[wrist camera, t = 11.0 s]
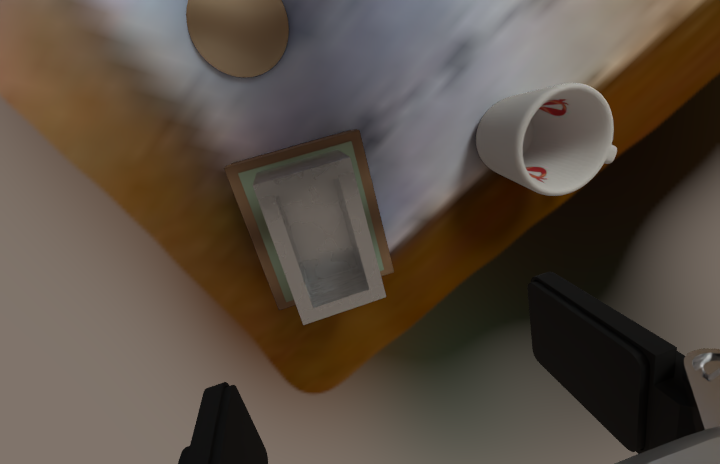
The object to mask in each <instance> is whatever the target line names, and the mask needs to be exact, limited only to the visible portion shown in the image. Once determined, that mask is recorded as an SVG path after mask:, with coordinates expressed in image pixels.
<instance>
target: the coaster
mask: <svg viewBox="0 0 720 464" xmlns="http://www.w3.org/2000/svg"><path fill="white" fill-rule="evenodd" d="M186 17H187V26H188V30H189V33H190V37H191V39H192V41H193V43H194V45H195V47H196V48H197V50H198V51H199V53H200V54H201V55H202V57H203V58H204V59H205V60H206V61H207V62H208V63H210V64H211V65H212V66H213V67H215V68H216V69H218V70H219V71H221V72H223V73H226V74H228V75H231V76H235V77H243V78H246V77H255V76H258V75H261V74H263V73H265V72H267V71H269V70H270V69H272V68H273V67H274V66H275V65H276V64H277V63H278V61H279V60H280V59H281V57H282V55H283V54H284V51H285V49H286V45H287V42H288V34H289V26H288V18H287V14H286V11H285V8H284V5H283V3H282V1H281V0H188V4H187V12H186Z"/></svg>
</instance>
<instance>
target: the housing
mask: <svg viewBox="0 0 720 464" xmlns="http://www.w3.org/2000/svg"><path fill="white" fill-rule="evenodd" d="M253 188H254V191H255V194H256V196H257V199H258V202H259V205H260V207H261V210H262V213H263V216H264V218H265V221H266V224H267V227H268V229H269V232H270V235H271V238H272V240H273V243H274V246H275V249H276V251H277V254H278V257H279V260H280V262H281V265H282V268H283V271H284V273H285V276H286V279H287V282H288V284H289V287H290V290H291V293H292V295H293V298H294V301H295V304H296V306H297V309H298V312H299V315H300V317H301V320H302V323H303V325H305V324H308V323H311V322H314V321H317V320H320V319H323V318H326V317H329V316H332V315H335V314H338V313H341V312H344V311H347V310H350V309H352V308H355V307H358V306H361V305H364V304H367V303H370V302H373V301H376V300H379V299H382V298H385V297H386V294H385V290H384V286H383V282H382V278H381V274H380V271H379V267H378V263H377V259H376V255H375V251H374V247H373V243H372V240H371V236H370V232H369V228H368V224H367V220H366V216H365V213H364V209H363V205H362V201H361V197H360V193H359V189H358V186H357V182H356V178H355V174H354V170H353V166H352V162H351V159H350V157H349V156H347V155H346V154H344V153H343V152H341V151H340V150H338V149H336V150H333V151H329V152H326V153H323V154H319V155H316V156H312V157H309V158H305V159H302V160H298V161H295V162H291V163H288V164H284V165H281V166H277V167H274V168H270V169H267V170H263V171H260V172H257V173H256V177H255V180H254V183H253Z"/></svg>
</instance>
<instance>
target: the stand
mask: <svg viewBox="0 0 720 464" xmlns="http://www.w3.org/2000/svg"><path fill="white" fill-rule="evenodd" d="M336 149H338V150H340V151H341V152H343V153H344V154H346V155H347V156H349V157H350V159H351V162H352V166H353V170H354V174H355V178H356V182H357V186H358V189H359V193H360V197H361V201H362V205H363V209H364V213H365V216H366V220H367V224H368V228H369V232H370V236H371V240H372V243H373V247H374V251H375V255H376V259H377V263H378V267H379V271H380V274H381V276H384V275H387V274H390V273H393V272H394V270H393V266H392V262H391V258H390V254H389V249H388V245H387V241H386V237H385V233H384V229H383V225H382V221H381V217H380V213H379V209H378V204H377V200H376V196H375V192H374V188H373V184H372V180H371V176H370V172H369V168H368V164H367V159H366V155H365V151H364V147H363V143H362V139H361V135H360V131H359V130H357V129H355V130H348V131H345V132H341V133H338V134H334V135H331V136H327V137H324V138H320V139H317V140H313V141H309V142H306V143H302V144H299V145H295V146H292V147H288V148H285V149H281V150H278V151H274V152H270V153H267V154H263V155H260V156H256V157H253V158H249V159H246V160H242V161H239V162H235V163H232V164H231V165H228V166H226V167H225V168H224V169H225V172H226V175H227V177H228V180H229V182H230V185H231V188H232V190H233V193H234V195H235V198H236V201H237V203H238V206H239V208H240V211H241V213H242V216H243V219H244V221H245V224H246V226H247V229H248V232H249V234H250V237H251V239H252V242H253V244H254V247H255V250H256V252H257V255H258V257H259V260H260V263H261V265H262V268H263V270H264V273H265V276H266V278H267V281H268V283H269V286H270V288H271V291H272V294H273V296H274V299H275V301H276V304H277V307H278V309H279V310H282V309H285V308H288V307H291V306H294V305H296V304H295V301H294V298H293V295H292V293H291V290H290V287H289V284H288V282H287V279H286V276H285V273H284V271H283V268H282V265H281V262H280V260H279V257H278V254H277V251H276V249H275V246H274V243H273V240H272V238H271V235H270V232H269V229H268V227H267V224H266V221H265V218H264V216H263V213H262V210H261V207H260V205H259V202H258V199H257V196H256V194H255V191H254V188H253V183H254V180H255V177H256V173H257V172H260V171H263V170H267V169H270V168H274V167H277V166H281V165H284V164H288V163H291V162H295V161H298V160H302V159H305V158H309V157H312V156H316V155H319V154H323V153H326V152H329V151H333V150H336Z"/></svg>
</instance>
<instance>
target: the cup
mask: <svg viewBox="0 0 720 464" xmlns="http://www.w3.org/2000/svg"><path fill="white" fill-rule="evenodd" d="M613 131H614V127H613V117H612V113H611V110H610V107H609V105H608V103H607V101H606V100H605V98H604V97H603V96H602V95H601V94H600V93H599V92H598V91H597V90H595V89H594V88H592V87H590V86H588V85H585V84H580V83H565V84H560V85H556V86H552V87H548V88H543V89H539V90H535V91H531V92H527V93H523V94H518V95H514V96H511V97H508V98H505V99H503V100H501V101H499V102H497V103H496V104H494V105H493V106H492V107H491V108H490V109H489V110H488V111H487V112H486V113H485V114H484V116H483V117H482V119H481V121H480V123H479V126H478V129H477V134H476V147H477V151H478V154H479V156H480V158H481V160H482V161H483V162H484V164H485V165H486V166H487V167H489V168H490V169H491V170H493V171H494V172H496V173H498V174H500V175H502V176H504V177H506V178H508V179H510V180H512V181H514V182H516V183H518V184H520V185H522V186H524V187H526V188H529V189H531V190H533V191H535V192H537V193H540V194H543V195H548V196H559V195H565V194H568V193H571V192H573V191H576V190H577V189H579V188H581V187H582V186H584V185H585V184H586V183H588V182H589V181H590V180H591V179H592V178H593V177H594V176H595V175H596V174H597V173H598V171H599V170H600V168H601V167H602V165H603V164H604V163H606V164H609V163H611V162H612V161H613V160H614V158H615V156H616V153H617V148H616V147H615V146H613V145H611V144H612V140H613Z"/></svg>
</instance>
